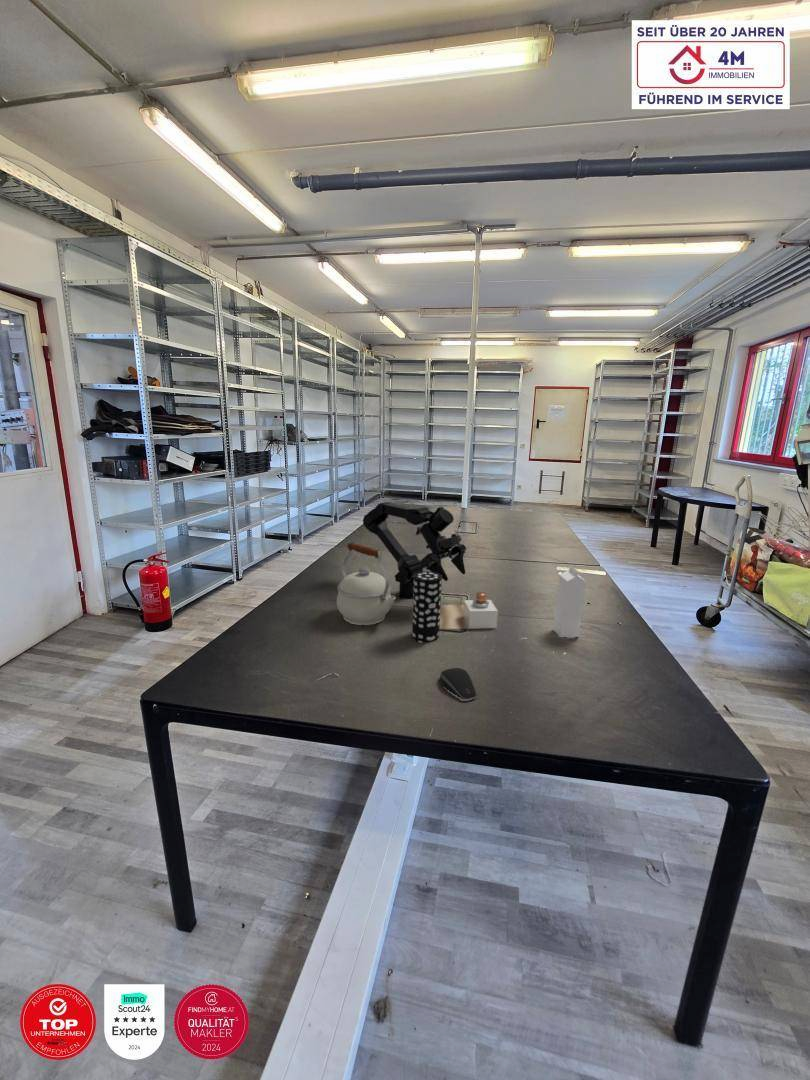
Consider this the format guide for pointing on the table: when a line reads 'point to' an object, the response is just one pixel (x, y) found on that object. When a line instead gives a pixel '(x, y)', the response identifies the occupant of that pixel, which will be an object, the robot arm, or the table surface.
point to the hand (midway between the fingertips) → (456, 577)
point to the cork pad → (452, 617)
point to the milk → (569, 604)
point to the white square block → (480, 615)
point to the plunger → (480, 600)
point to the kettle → (364, 591)
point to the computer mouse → (458, 683)
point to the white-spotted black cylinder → (426, 606)
